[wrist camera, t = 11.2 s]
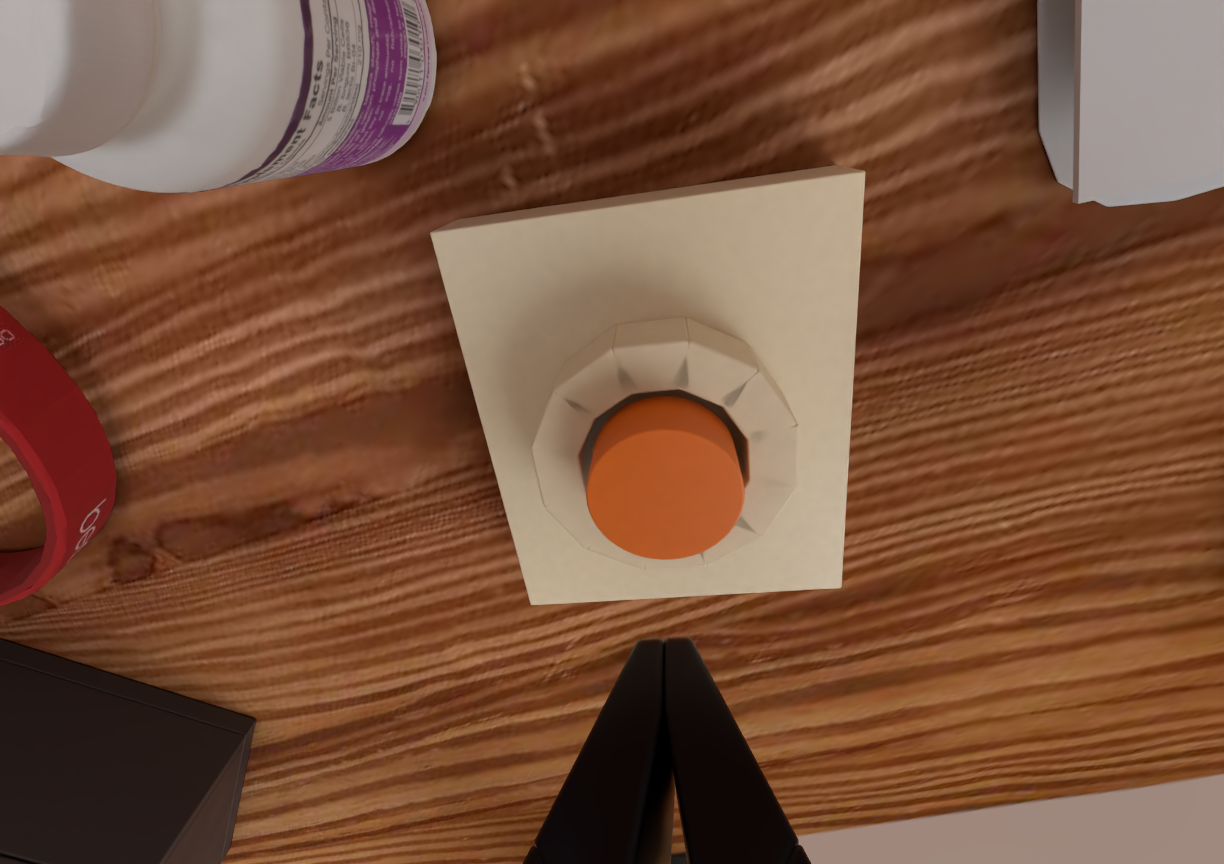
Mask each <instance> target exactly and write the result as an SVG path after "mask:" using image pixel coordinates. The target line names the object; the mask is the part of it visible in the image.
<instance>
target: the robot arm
mask: <svg viewBox="0 0 1224 864" xmlns="http://www.w3.org/2000/svg"><path fill="white" fill-rule="evenodd" d="M675 786H676V793H677V800H678V807H679V813H680V819H681V825H682V831H683V837H684V843H685V850H686V856H687V862H688V864H811V862H810V860H809V858H808V857H807V855H806V853H805V851H804V849H803V847H802V846H801V845H798V838H797V836H796V835H795V833H794V831H793V829H792V827H791V825H790V823H789V821H788V820H787V818H786V816H785V814H784V812H783V810H782V808H781V806H780V804H779V803H778V801H777V799H776V797H775V795H774V793H773V791H772V789H771V787H770V786H769V784H768V782H767V780H766V778H765V776H764V774H763V772H762V771H761V769H760V767H759V765H758V763H757V761H756V759H755V757H754V755H753V754H752V752H751V750H750V748H749V746H748V744H747V742H746V740H745V738H744V737H743V735H742V733H741V731H740V729H739V727H738V725H737V723H736V722H735V720H734V718H733V716H732V714H731V712H730V710H729V708H728V706H727V705H726V703H725V701H724V699H723V697H722V695H721V693H720V691H719V689H718V688H717V686H716V684H715V682H714V680H713V678H712V676H711V674H710V673H709V671H708V669H707V667H706V665H705V663H704V661H703V659H702V657H701V656H700V654H699V652H698V650H697V648H696V646H695V644H694V642H693V641H692V639H691V638H689V637H671V638H667V639H666V640H665V643H664V640H663V639H661V638H649V639H640V640H638V641H637V643H636V644H635V646H634V648H633V650H632V652H631V654H630V656H629V658H628V660H627V662H626V664H625V666H624V668H623V669H622V671H621V673H620V675H619V677H618V679H617V681H616V683H615V685H614V687H613V689H612V691H611V693H610V695H609V697H608V699H607V701H606V703H605V705H604V707H603V708H602V710H601V712H600V714H599V716H598V718H597V720H596V722H595V724H594V726H593V728H592V730H591V732H590V734H589V736H588V738H587V740H586V742H585V744H584V745H583V747H582V749H581V751H580V753H579V755H578V757H577V759H576V761H575V763H574V765H573V767H572V769H571V771H570V773H569V775H568V777H567V779H566V781H565V783H564V784H563V786H562V788H561V790H560V792H559V794H558V796H557V798H556V800H555V802H554V804H553V806H552V808H551V810H550V812H549V814H548V816H547V818H546V820H545V822H544V823H543V825H542V827H541V829H540V831H539V833H538V835H537V837H536V839H535V845H536V846H532V847H531V848H530V850H529V852H528V854H527V856H526V858H525V860H524V862H523V864H671V848H672V832H673V816H674V794H675Z"/></svg>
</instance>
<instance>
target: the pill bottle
mask: <svg viewBox="0 0 1224 864" xmlns="http://www.w3.org/2000/svg"><path fill="white" fill-rule="evenodd" d="M436 67H437V52H436V47H435V39H434V33H433V27H432V22H431V17H430V13H429V10H428V7H427V4H426V1H425V0H0V156H16V155H30V156H39V157H51V158H53V159H55V160H57V161H59V162H60V163H62V164H64V165H66V166H68V167H70V168H72V169H74V170H77V171H79V172H81V173H83V174H86V175H88V176H91V177H93V178H96V179H98V180H101V181H104V182H107V183H110V184H114V185H118V186H122V187H126V188H131V189H135V190H141V191H149V192H161V193H190V192H203V191H208V190H213V189H218V188H223V187H230V186H237V185H244V184H250V183H257V182H263V181H269V180H275V179H283V178H291V177H297V176H303V175H309V174H315V173H322V172H328V171H334V170H339V169H345V168H351V167H356V166H361V165H365V164H369V163H372V162H376V161H378V160H381V159H383V158H385V157H387V156H389V155H391V154H392V153H394V152H395V151H396V150H398V149H399V148H401V147H402V146H403V145H404V144H405V143H406V142H407V141H408V140H409V139H410V138H411V137H412V135H413V134H414V133H415V132H416V130H417V129H418V127H419V126H420V124H421V122H422V121H423V118H424V116H425V114H426V111H427V110H428V108H429V106H430V104H431V100H432V97H433V92H434V87H435V79H436Z"/></svg>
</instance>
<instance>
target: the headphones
mask: <svg viewBox="0 0 1224 864" xmlns="http://www.w3.org/2000/svg"><path fill="white" fill-rule="evenodd" d="M0 437H1V438H2V439H3V440H4V441H5V442H6V443H7V445H8V446H9V447H10V448H11V449H12V451H13V452H14V454H15V455H16V457H17V458H18V460H19V461H20V463H21V464H22V466H23V467H24V469H25V470H26V472H27V473H28V476H29V478H30V480H31V483H32V485H33V487H34V490H35V492H36V494H37V497H38V499H39V501H40V504H41V506H42V508H43V511H44V513H45V520H46V529H47V537H46V541H45V545H44V546H43V547H40V548H37V549H34V550H28V551H21V552H14V553H0V606H3V605H6V604H9V603H12V602H15V601H18V600H20V599H22V598H24V597H26V596H28V595H30V594H32V593H34V592H36V591H38V590H39V589H40V588H41V587H42V586H43V585H45V584H46V583H47V582H48V581H49V580H50V579H51V578H53V577H54V576H55V575H56V574H57V573H58V572H59V571H60V570H61V569H62V568H63V567H64V566H65V565H66V564H67V563H68V562H69V561H70V560H71V559H72V558H73V557H74V556H75V555H76V554H77V553H78V552H79V551H80V550H81V549H82V548H83V547H84V546H85V545H86V544H87V543H88V542H89V541H90V540H91V539H92V538H93V537H94V536H95V535H96V534H97V533H98V532H99V531H100V530H101V529H102V528H103V526H104V524H105V522H106V520H107V518H108V516H109V514H110V512H111V510H112V508H113V506H114V504H115V493H116V482H117V475H116V470H115V466H114V461H113V457H112V452H111V448H110V443H109V441H108V439H107V437H106V434H105V432H104V430H103V428H102V426H101V423H100V421H99V419H98V417H97V414H96V412H95V411H94V409H93V408H92V406H91V405H90V403H89V402H88V400H87V399H86V398H85V396H84V395H83V393H82V392H81V390H80V389H79V387H78V386H77V385H76V383H75V382H74V381H73V380H72V378H71V377H70V376H69V375H68V373H67V372H66V371H65V370H64V368H63V367H62V366H61V364H60V363H59V362H58V361H57V359H56V358H55V357H54V356H53V354H52V353H51V352H50V351H49V350H48V349H47V348H46V347H45V346H44V345H42V344H41V343H40V342H39V341H38V340H37V339H36V338H35V337H34V336H33V335H32V334H31V333H30V332H29V331H27V330H26V329H25V328H24V327H23V326H22V325H21V324H20V323H19V322H18V321H17V320H16V319H15V318H13V317H12V316H11V315H10V314H9V313H8V312H7V311H6V310H5V309H4V308H2V307H1V306H0Z"/></svg>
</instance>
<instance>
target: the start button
mask: <svg viewBox="0 0 1224 864" xmlns="http://www.w3.org/2000/svg"><path fill="white" fill-rule="evenodd" d="M744 497H745V489H744V482H743V478H742V474H741V470H740V466H739V462H738V458H737V454H736V450H735V446H734V442H733V439H732V437H731V434H730V432H729V430H728V429H727V427H726V426H725V424H724V423H723V422H722V421H721V419H720V418H719V417H718V416H717V415H715V414H714V413H713V412H712V411H711V410H709V409H707V408H706V407H704V406H703V405H701V404H698V403H696V402H694V401H691V400H688V399H685V398H680V397H673V396H655V397H649V398H644V399H641V400H637V401H635V402H633V403H630V404H628V405H626V406H625V407H623V408H621V409H620V410H618V411H617V412H616V413H615V414H613V415H612V416H611V417H610V418H609V419H608V420H607V421H606V423H605V424H604V425H603V427H602V428H601V430H600V432H599V434H598V436H597V438H596V441H595V444H594V449H593V454H592V460H591V465H590V470H589V475H588V480H587V486H586V500H587V506H588V509H589V513H590V515H591V517H592V519H593V521H594V523H595V524H596V526H597V528H598V529H599V530H600V531H601V532H602V534H603V535H604V536H605V537H606V538H607V539H609V540H610V541H611V542H612V543H614V544H615V545H616V546H618V547H620V548H622V549H623V550H625V551H627V552H630V553H632V554H635V555H638V556H641V557H645V558H650V559H660V560H672V559H681V558H686V557H690V556H693V555H696V554H699V553H701V552H704V551H706V550H708V549H710V548H711V547H713V546H715V545H716V544H717V543H719V542H720V541H721V540H723V539H724V538H725V537H726V536H727V535H728V534H729V533H730V531H731V530H732V529H733V527H734V526H735V524H736V522H737V521H738V519H739V517H740V514H741V512H742V509H743V504H744Z"/></svg>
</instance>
